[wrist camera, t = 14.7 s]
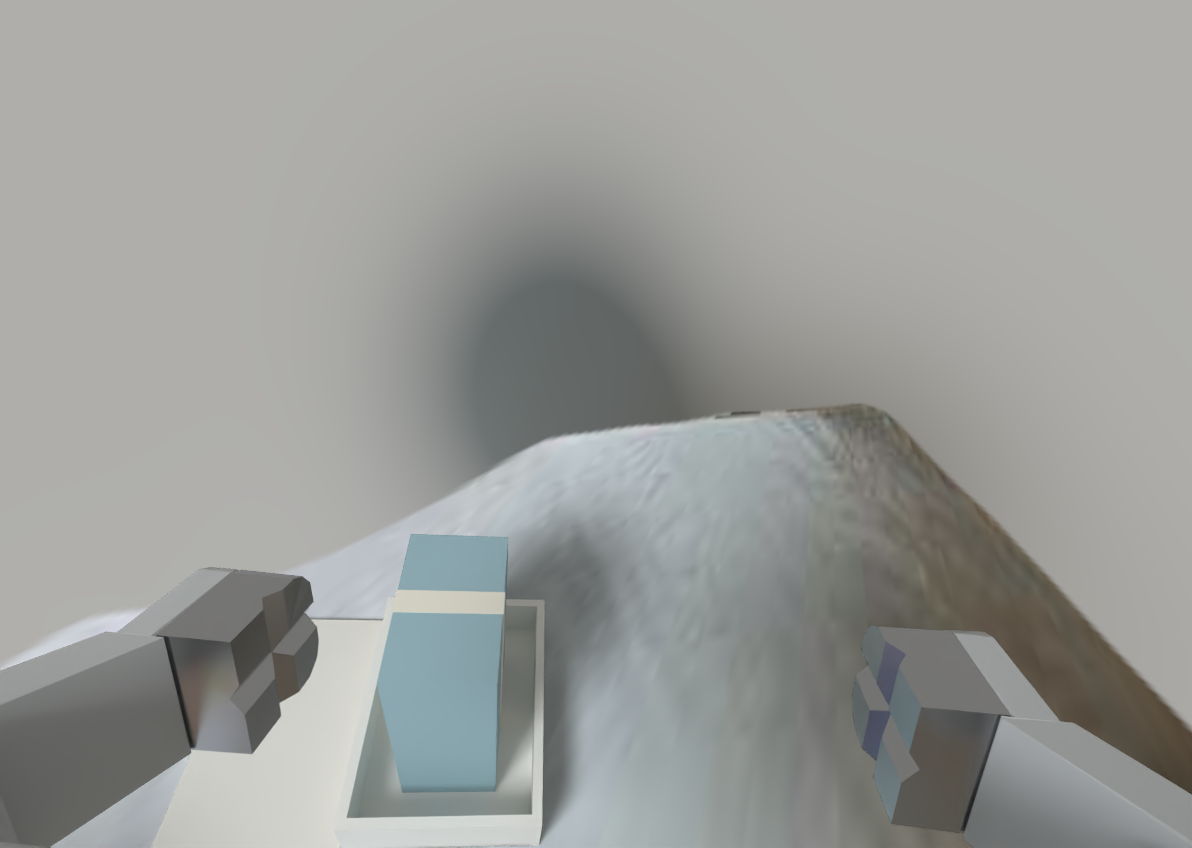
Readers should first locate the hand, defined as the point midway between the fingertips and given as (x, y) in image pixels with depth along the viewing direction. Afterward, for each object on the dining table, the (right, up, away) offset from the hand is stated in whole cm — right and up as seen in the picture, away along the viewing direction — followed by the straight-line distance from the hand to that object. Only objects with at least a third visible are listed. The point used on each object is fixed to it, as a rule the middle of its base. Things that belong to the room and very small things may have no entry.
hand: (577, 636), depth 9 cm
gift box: (-8, -14, +28) cm, 32 cm away
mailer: (-13, -14, +27) cm, 33 cm away
